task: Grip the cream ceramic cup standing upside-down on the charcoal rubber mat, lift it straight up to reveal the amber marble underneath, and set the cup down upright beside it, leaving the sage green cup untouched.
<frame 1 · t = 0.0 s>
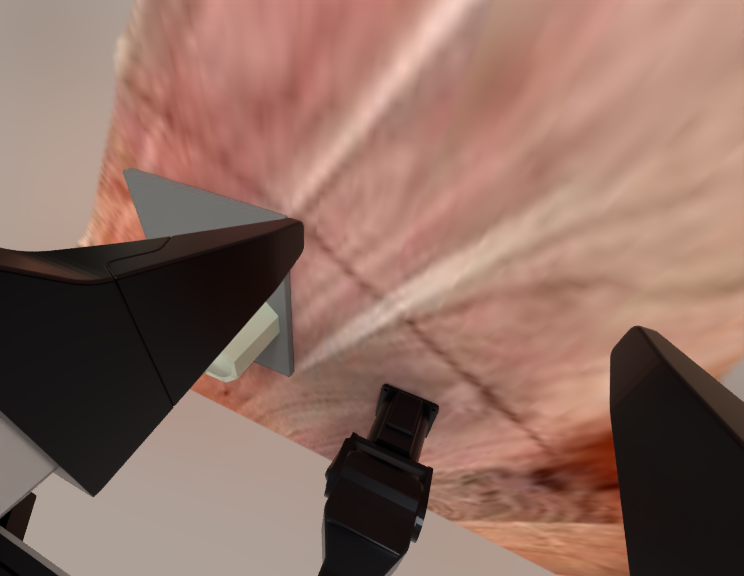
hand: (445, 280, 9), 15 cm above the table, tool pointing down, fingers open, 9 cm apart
mat: (223, 282, 37), on the table
sage cup: (256, 315, 36), point 1 cm above the table, touching mat
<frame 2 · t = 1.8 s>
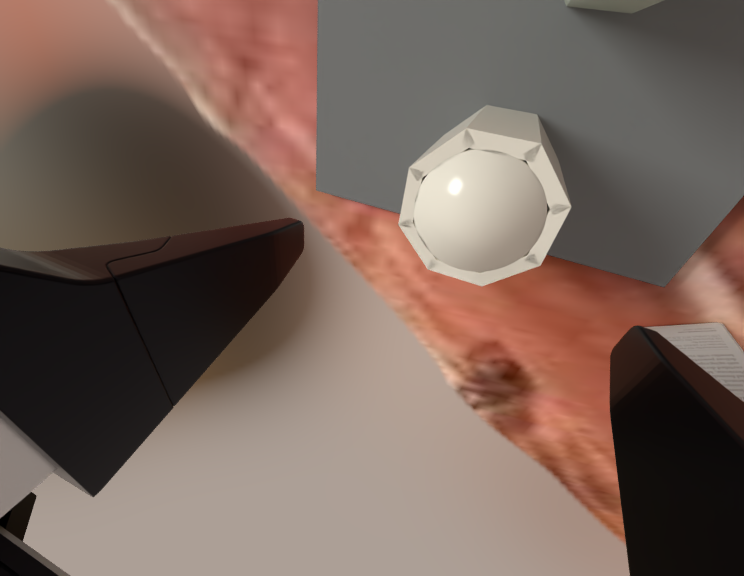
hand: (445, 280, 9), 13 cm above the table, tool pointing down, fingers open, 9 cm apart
mat: (528, 60, 16), on the table
cream cup: (490, 169, 18), point 1 cm above the table, touching mat
skincare box: (675, 355, 21), on the table
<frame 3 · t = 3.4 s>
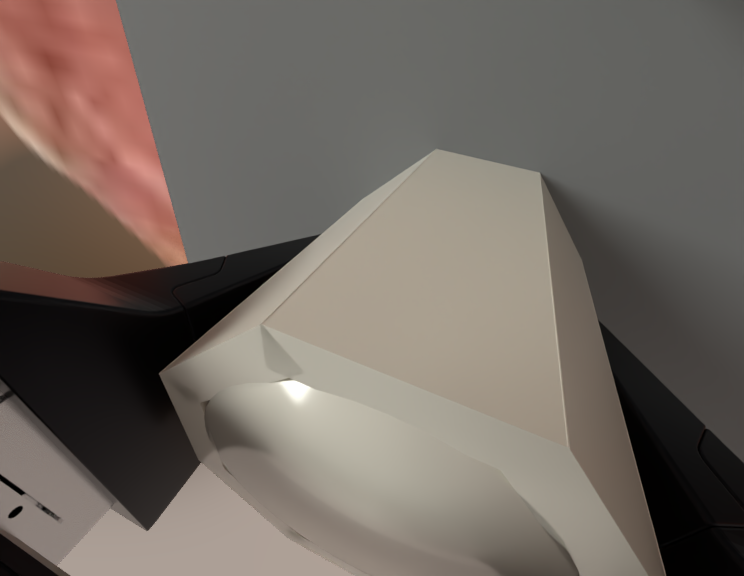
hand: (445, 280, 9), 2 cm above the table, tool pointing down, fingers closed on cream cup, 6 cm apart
mat: (520, 59, 7), on the table
cream cup: (452, 263, 10), point 1 cm above the table, touching gripper, mat
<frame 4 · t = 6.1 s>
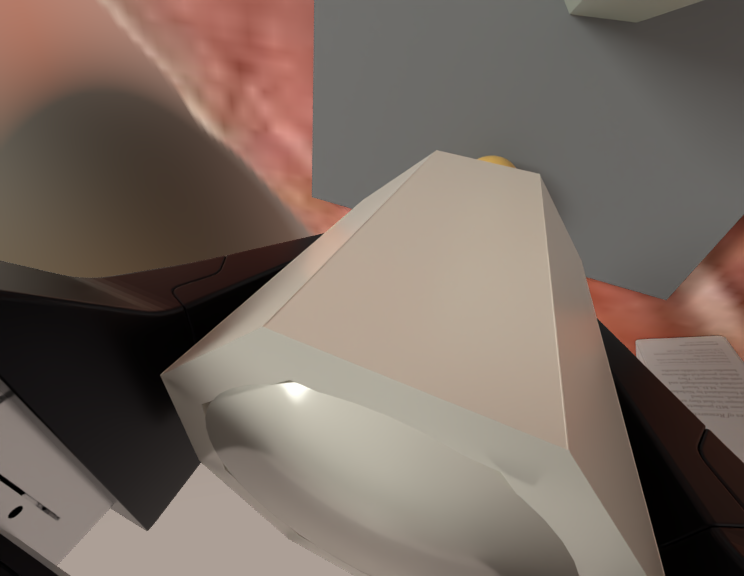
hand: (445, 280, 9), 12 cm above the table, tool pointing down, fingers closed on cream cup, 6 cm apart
mat: (529, 69, 15), on the table
cream cup: (452, 264, 10), point 11 cm above the table, touching gripper
skincare box: (676, 368, 21), on the table
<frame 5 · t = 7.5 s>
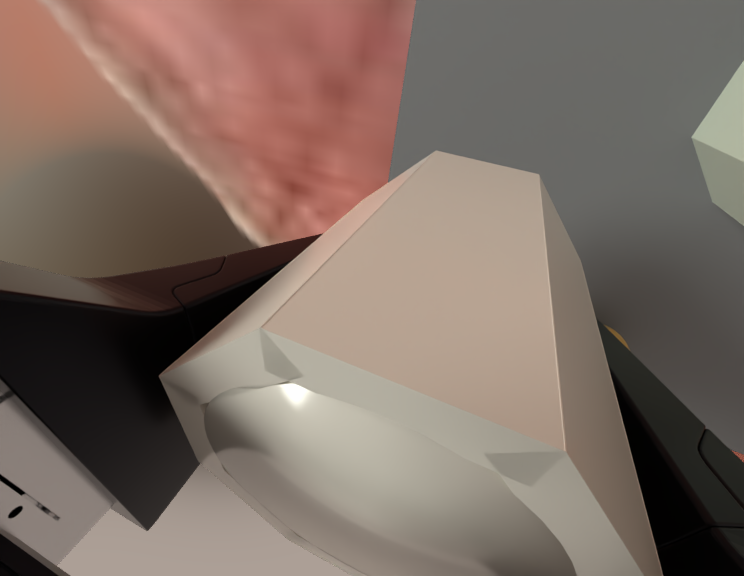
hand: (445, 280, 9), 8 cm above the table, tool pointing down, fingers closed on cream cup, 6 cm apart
mat: (643, 234, 13), on the table
cream cup: (451, 264, 10), point 7 cm above the table, touching gripper
when the fingers open (3 cm above the table, at t = 8.8 s): cream cup drops 1 cm, resting on mat.
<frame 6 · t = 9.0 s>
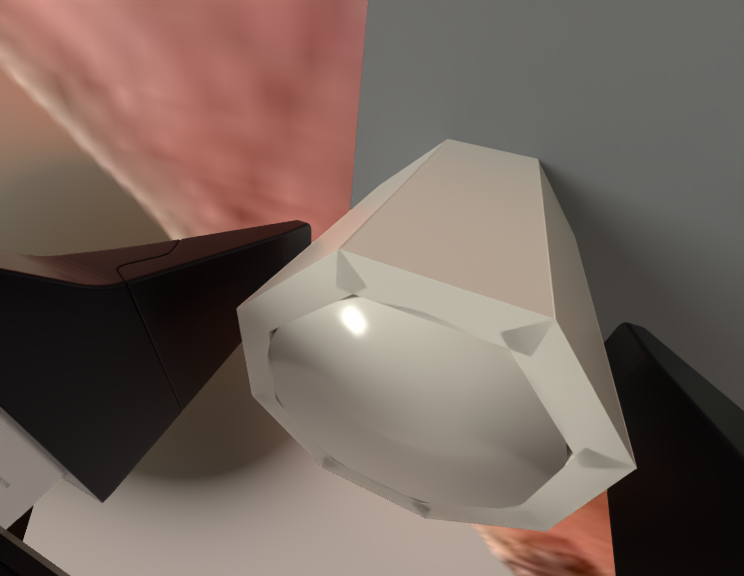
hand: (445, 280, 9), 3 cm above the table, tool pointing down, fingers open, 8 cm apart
mat: (686, 292, 10), on the table
cream cup: (459, 242, 11), point 1 cm above the table, touching mat
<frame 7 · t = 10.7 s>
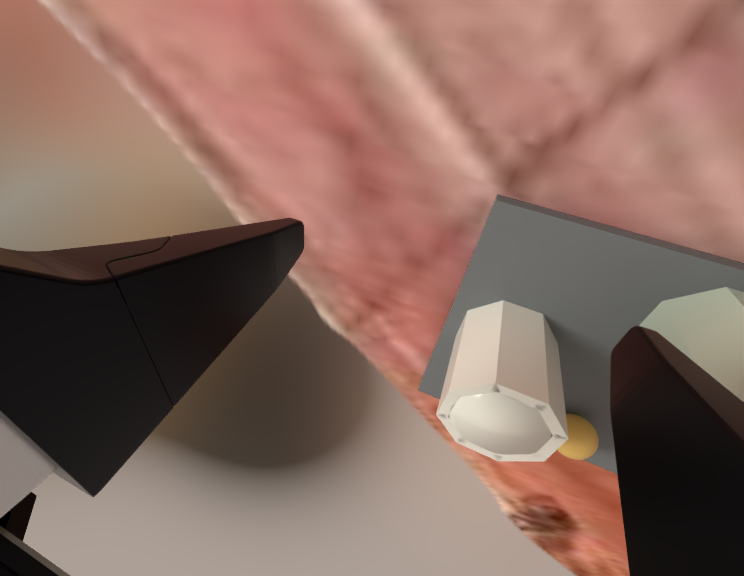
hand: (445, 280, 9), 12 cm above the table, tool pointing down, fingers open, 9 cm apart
mat: (608, 366, 22), on the table
sage cup: (706, 337, 18), point 1 cm above the table, touching mat
cream cup: (503, 338, 22), point 1 cm above the table, touching mat
amber marble: (572, 436, 23), point 2 cm above the table, touching mat
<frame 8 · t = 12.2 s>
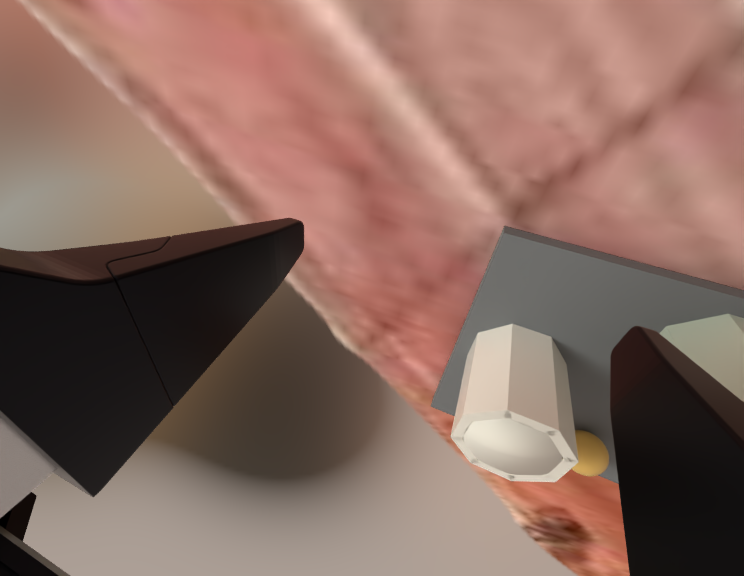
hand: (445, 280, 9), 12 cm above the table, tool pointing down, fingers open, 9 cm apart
mat: (616, 385, 22), on the table
sage cup: (711, 360, 18), point 1 cm above the table, touching mat
cream cup: (513, 359, 23), point 1 cm above the table, touching mat
amber marble: (583, 452, 24), point 2 cm above the table, touching mat
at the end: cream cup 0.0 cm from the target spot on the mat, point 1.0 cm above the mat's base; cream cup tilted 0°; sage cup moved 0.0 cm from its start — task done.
